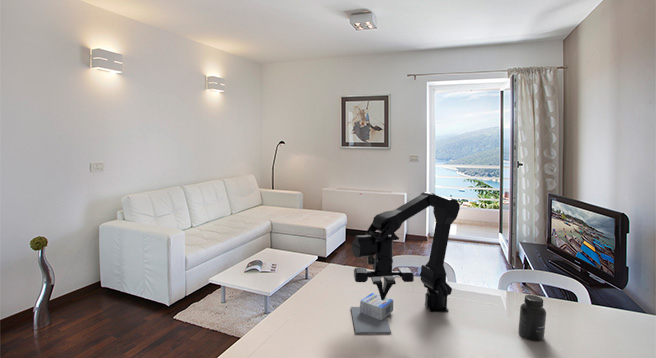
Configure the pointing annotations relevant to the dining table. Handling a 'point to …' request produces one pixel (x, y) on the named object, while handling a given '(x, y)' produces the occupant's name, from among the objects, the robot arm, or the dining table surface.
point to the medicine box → (376, 306)
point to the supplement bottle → (532, 318)
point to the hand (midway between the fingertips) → (382, 299)
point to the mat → (368, 323)
